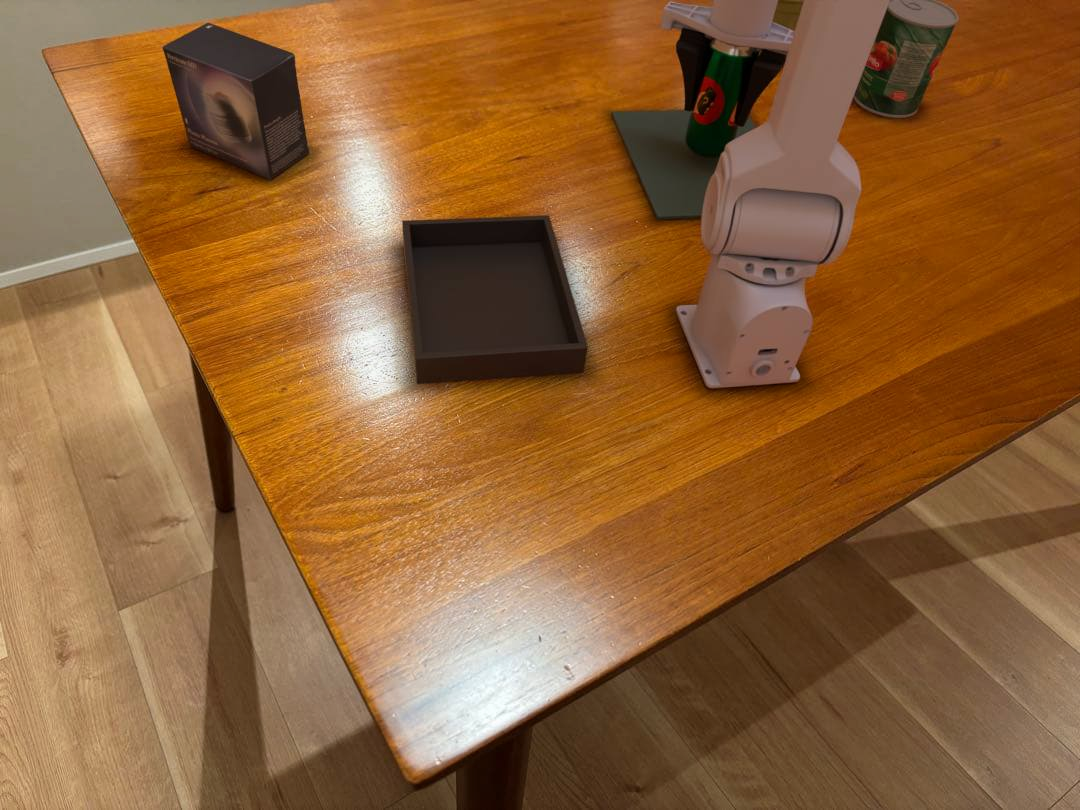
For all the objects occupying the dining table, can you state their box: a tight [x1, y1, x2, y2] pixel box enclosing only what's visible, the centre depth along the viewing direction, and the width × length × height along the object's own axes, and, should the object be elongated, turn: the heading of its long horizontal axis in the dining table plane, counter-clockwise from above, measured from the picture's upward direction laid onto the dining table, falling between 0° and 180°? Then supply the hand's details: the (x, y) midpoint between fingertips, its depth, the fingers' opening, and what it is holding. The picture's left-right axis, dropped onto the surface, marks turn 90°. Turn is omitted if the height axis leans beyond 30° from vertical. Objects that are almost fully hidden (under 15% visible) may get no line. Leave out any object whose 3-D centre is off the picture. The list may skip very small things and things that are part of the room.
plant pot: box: [758, 0, 804, 62], centre depth 103 cm, size 9×9×9 cm
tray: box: [401, 214, 589, 385], centre depth 69 cm, size 17×13×3 cm
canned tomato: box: [853, 0, 959, 119], centre depth 96 cm, size 8×8×11 cm
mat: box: [610, 109, 757, 221], centre depth 87 cm, size 20×16×1 cm
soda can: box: [685, 37, 759, 158], centre depth 82 cm, size 5×5×12 cm
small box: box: [161, 22, 310, 181], centre depth 78 cm, size 11×6×10 cm, turn 62°
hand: (716, 114), depth 84 cm, fingers closed on soda can, 5 cm apart
